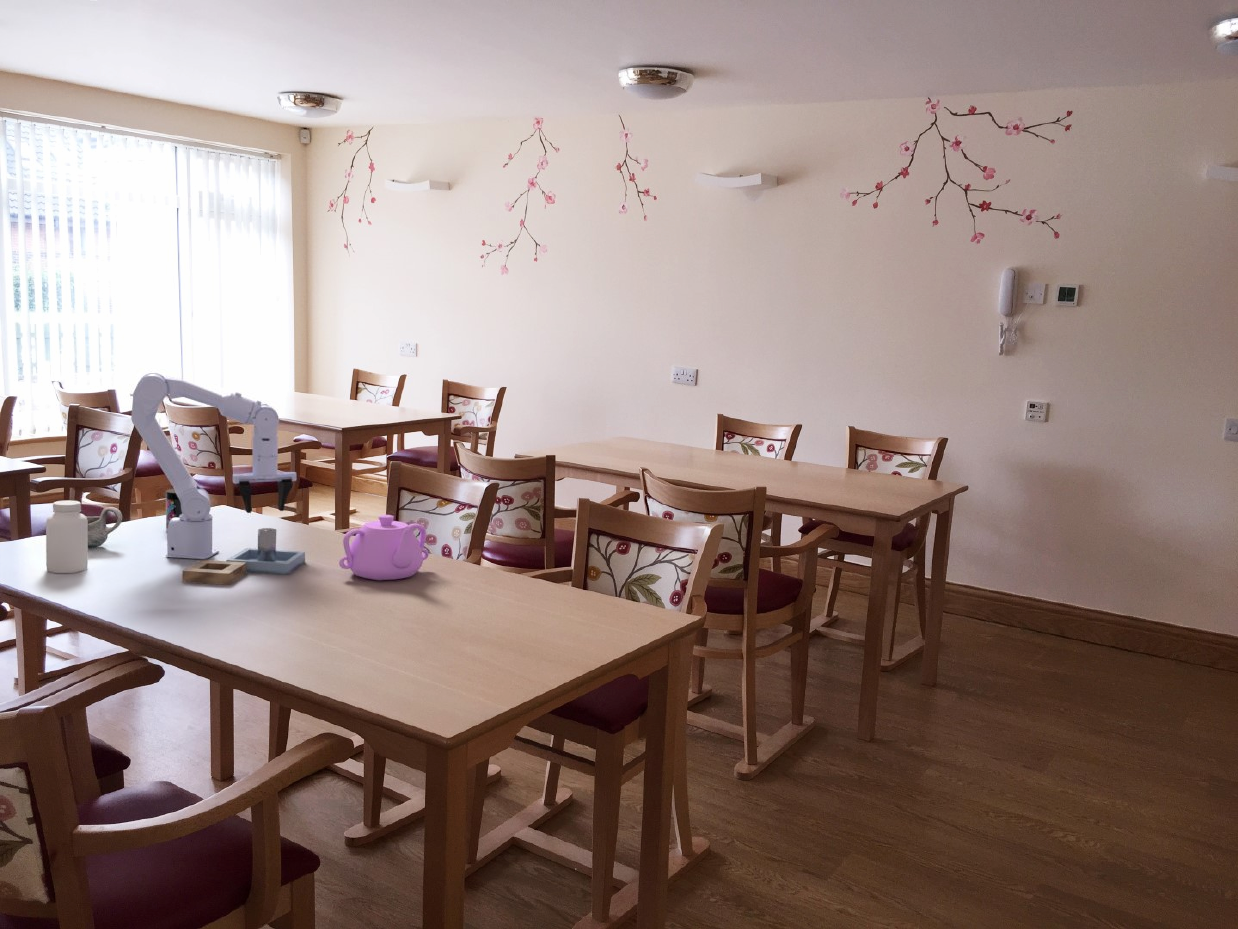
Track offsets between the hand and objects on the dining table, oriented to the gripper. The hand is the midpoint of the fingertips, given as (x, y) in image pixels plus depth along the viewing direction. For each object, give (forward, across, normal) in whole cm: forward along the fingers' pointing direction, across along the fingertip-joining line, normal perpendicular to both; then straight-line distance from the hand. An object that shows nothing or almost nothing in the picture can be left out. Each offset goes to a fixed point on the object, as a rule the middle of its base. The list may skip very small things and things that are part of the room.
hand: (264, 511), depth 243 cm
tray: (+10, -3, -13) cm, 17 cm away
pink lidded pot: (+11, +20, -31) cm, 38 cm away
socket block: (+10, -16, -18) cm, 26 cm away
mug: (+10, -35, +18) cm, 41 cm away
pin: (+10, -3, -13) cm, 16 cm away
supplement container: (+10, -13, +32) cm, 36 cm away
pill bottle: (+10, -42, -1) cm, 44 cm away
